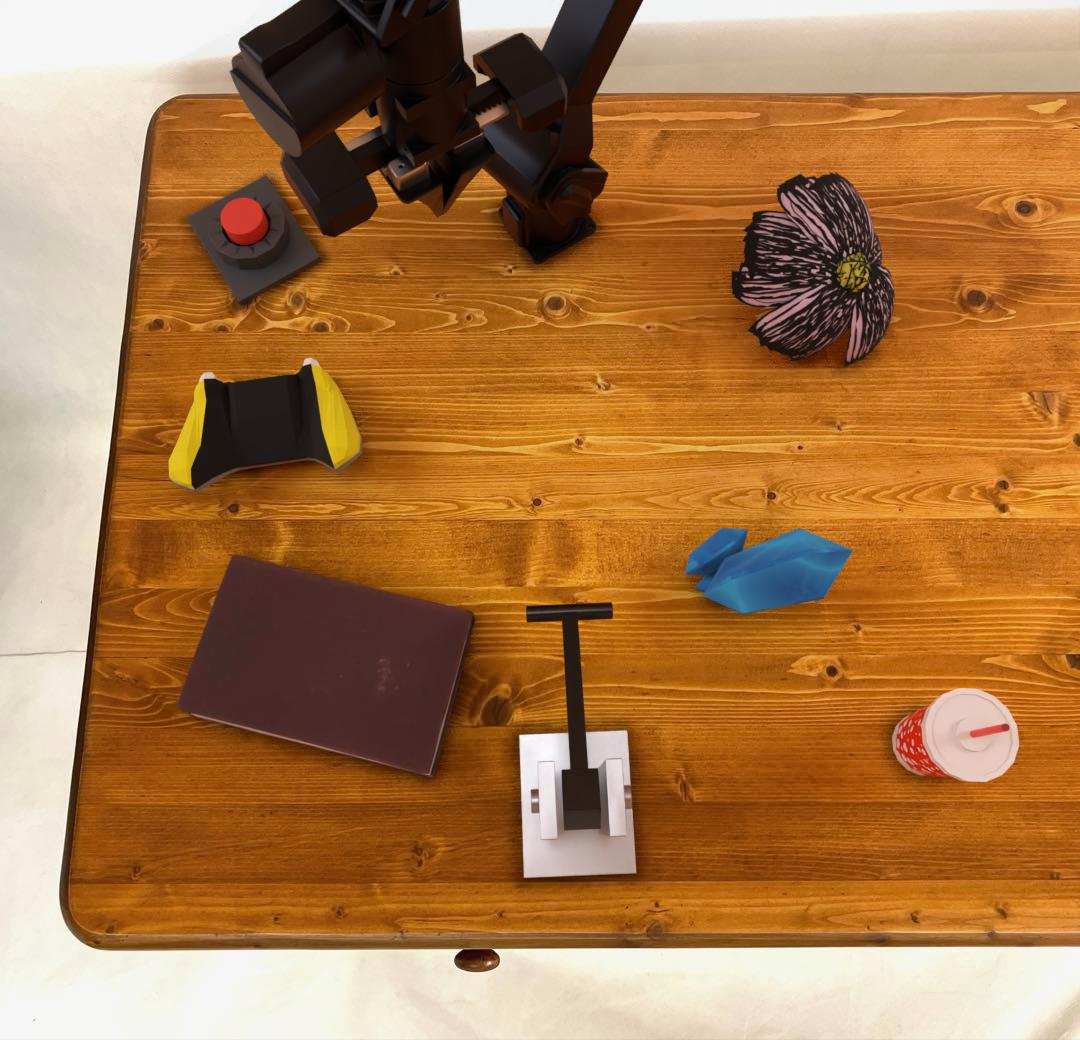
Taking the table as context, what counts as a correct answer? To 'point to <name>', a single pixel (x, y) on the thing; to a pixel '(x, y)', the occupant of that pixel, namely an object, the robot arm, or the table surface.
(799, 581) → the crystal
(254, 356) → the table surface
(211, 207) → the control block
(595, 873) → the bracket
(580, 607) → the lever
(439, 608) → the book
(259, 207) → the button
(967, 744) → the beverage cup
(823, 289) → the decorative flower
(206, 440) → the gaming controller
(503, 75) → the robot arm
